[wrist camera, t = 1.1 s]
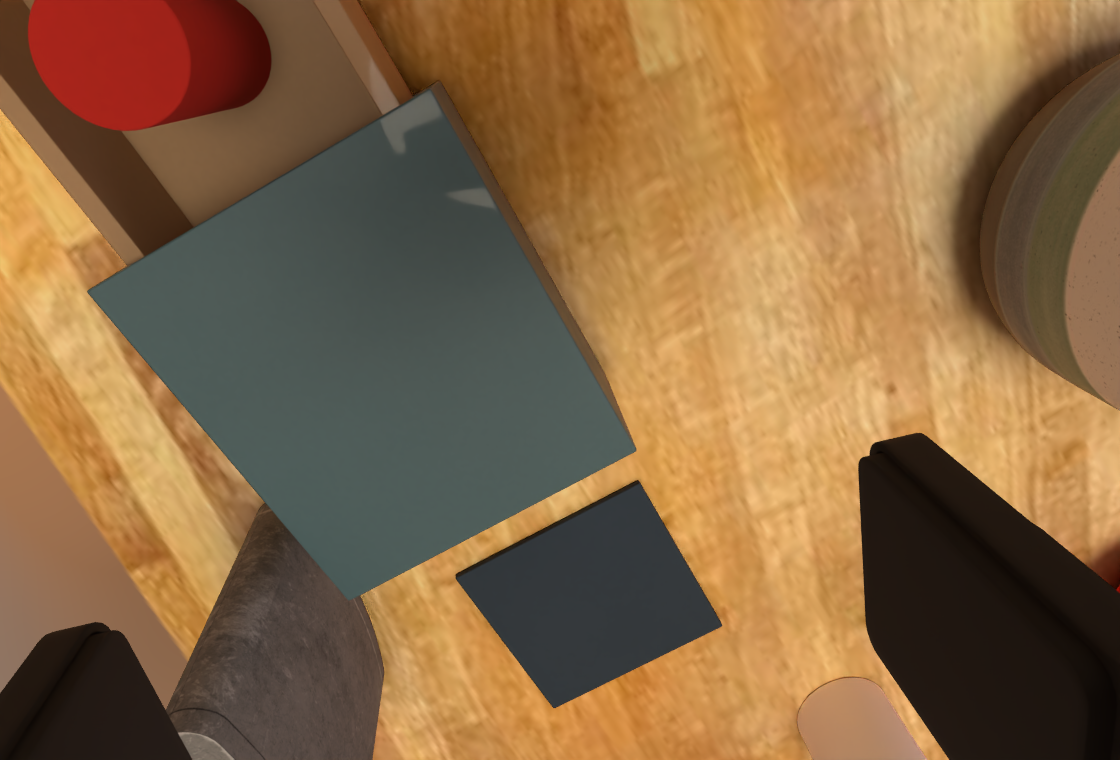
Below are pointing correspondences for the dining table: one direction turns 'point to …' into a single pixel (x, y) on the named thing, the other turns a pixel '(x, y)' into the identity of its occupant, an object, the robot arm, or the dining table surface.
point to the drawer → (206, 124)
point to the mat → (591, 596)
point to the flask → (280, 662)
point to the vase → (1062, 234)
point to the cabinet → (376, 347)
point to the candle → (854, 724)
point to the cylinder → (148, 58)
